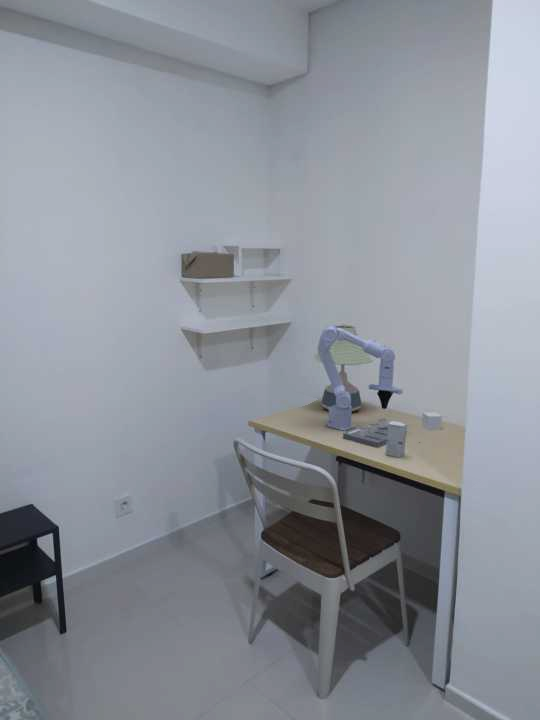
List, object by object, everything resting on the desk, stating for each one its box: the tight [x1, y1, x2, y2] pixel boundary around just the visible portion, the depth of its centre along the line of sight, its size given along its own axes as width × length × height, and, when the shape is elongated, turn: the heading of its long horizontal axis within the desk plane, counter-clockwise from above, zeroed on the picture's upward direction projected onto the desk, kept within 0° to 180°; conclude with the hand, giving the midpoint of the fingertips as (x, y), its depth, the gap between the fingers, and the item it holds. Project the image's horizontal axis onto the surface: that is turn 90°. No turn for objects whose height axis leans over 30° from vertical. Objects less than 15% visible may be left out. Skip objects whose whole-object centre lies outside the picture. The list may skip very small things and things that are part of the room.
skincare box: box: [385, 420, 408, 458], centre depth 203 cm, size 6×4×12 cm
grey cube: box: [421, 412, 443, 431], centre depth 239 cm, size 6×6×6 cm
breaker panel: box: [342, 422, 408, 449], centre depth 224 cm, size 16×22×5 cm
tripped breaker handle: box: [378, 417, 388, 428], centre depth 230 cm, size 2×3×3 cm, turn 137°
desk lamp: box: [313, 322, 374, 412], centre depth 263 cm, size 26×28×42 cm
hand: (384, 408), depth 233 cm, fingers closed
